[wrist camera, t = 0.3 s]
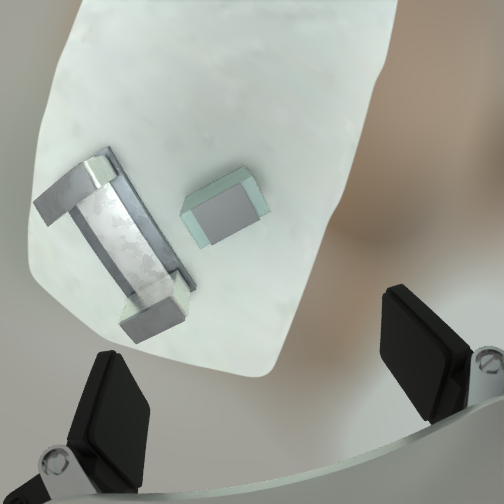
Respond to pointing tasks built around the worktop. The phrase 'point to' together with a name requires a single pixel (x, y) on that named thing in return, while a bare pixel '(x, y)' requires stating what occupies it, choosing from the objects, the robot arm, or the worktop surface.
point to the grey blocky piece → (123, 243)
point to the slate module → (223, 207)
